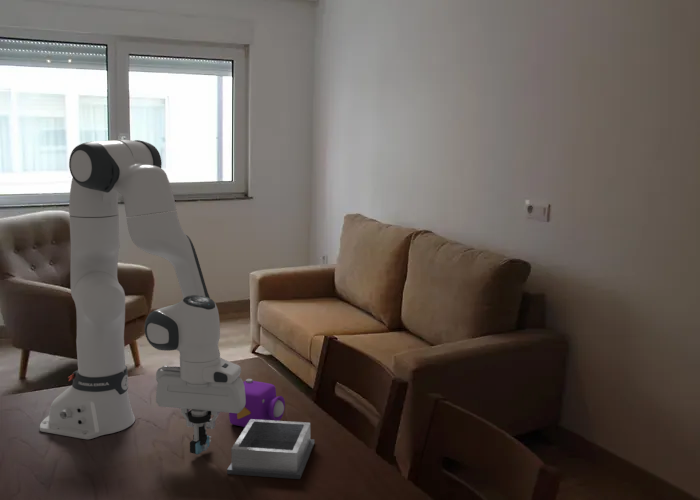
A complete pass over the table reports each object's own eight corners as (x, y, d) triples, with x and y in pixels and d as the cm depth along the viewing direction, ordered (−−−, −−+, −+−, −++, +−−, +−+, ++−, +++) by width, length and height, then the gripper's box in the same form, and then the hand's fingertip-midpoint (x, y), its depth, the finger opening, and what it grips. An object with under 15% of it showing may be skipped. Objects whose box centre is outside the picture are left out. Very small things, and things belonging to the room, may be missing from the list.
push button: (201, 440, 162) (200, 400, 160) (220, 444, 160) (219, 404, 158) (183, 452, 156) (182, 411, 154) (203, 457, 154) (202, 415, 152)
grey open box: (227, 474, 149) (226, 450, 148) (248, 439, 166) (248, 417, 165) (300, 479, 147) (299, 455, 146) (314, 443, 164) (314, 421, 163)
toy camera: (278, 434, 169) (277, 395, 167) (225, 429, 171) (224, 391, 170) (290, 416, 179) (290, 379, 177) (240, 411, 182) (239, 375, 180)
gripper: (150, 369, 153) (151, 428, 156) (239, 377, 150) (239, 436, 153) (162, 360, 159) (163, 417, 162) (247, 367, 156) (247, 425, 159)
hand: (201, 426), depth 157 cm, fingers closed on push button, 3 cm apart
